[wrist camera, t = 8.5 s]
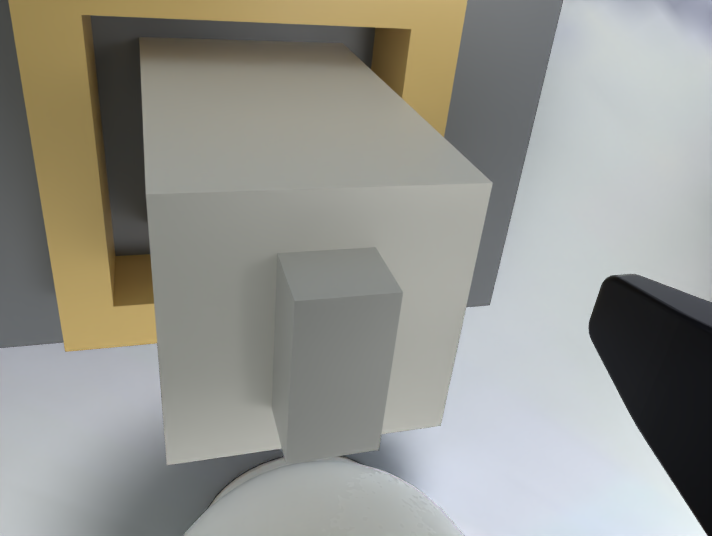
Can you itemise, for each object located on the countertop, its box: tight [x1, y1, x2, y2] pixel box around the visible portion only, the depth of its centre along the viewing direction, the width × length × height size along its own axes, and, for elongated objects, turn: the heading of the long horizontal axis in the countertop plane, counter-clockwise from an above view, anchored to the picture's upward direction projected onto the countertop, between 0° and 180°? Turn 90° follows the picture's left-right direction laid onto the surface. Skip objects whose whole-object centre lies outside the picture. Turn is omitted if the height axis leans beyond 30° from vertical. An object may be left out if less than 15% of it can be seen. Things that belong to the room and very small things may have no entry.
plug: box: [139, 37, 493, 465], centre depth 11 cm, size 4×4×8 cm
